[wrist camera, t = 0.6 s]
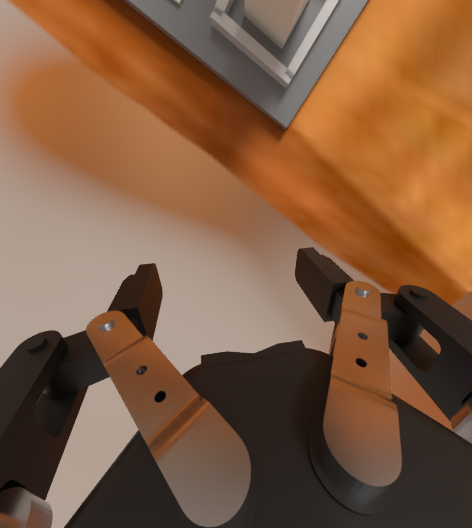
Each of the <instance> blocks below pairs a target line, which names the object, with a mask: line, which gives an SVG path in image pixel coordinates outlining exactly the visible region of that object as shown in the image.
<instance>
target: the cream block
mask: <svg viewBox="0 0 472 528" xmlns="http://www.w3.org/2000/svg"><path fill="white" fill-rule="evenodd" d="M308 2H309V0H245V4H244V16H245V17H246V18H247V19H248V20H250V21H251V22H252V23H253V24H254V25H255V26H256V27H257V28H258V29H260V30H261V31H262V32H263V33H264V34H265V35H266V36H267V37H268V38H270V39H271V40H272V41H273V42H274V43H275V44H276V45H277V46H278V47H280V48H281V49H282V48H283V47H284V45H285V43H286V41H287V39H288V38H289V36H290V34H291V32H292V30H293V29H294V27H295V25H296V23H297V21H298V20H299V18H300V16H301V14H302V12H303V11H304V9H305V7H306V5H307V3H308Z"/></svg>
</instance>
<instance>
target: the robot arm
mask: <svg viewBox="0 0 472 528" xmlns="http://www.w3.org/2000/svg"><path fill="white" fill-rule="evenodd" d="M295 277H296V281H297V282H298V284H299V285H300V287H301V288H302V290H303V291H304V293H305V294H306V296H307V297H308V299H309V300H310V302H311V303H312V305H313V306H314V307H315V309H316V311H317V312H318V313H319V315H320V316H321V318H322V319H323V321H324V322H327V321H334V322H335V326H334V329H333V335H332V339H331V344H330V349H329V354H326V353H324V352H321V351H318V350H314V349H309V348H305V346H304V344H303V342H302V340H300V341H293V342H286V343H279V344H276V345H274V346H271V347H269V348H266V349H264V350H262V351H259V352H257V353H240V352H220V353H214V354H207V355H201V364H200V365H197V366H195V367H193V368H192V369H190V370H189V371H187V372H186V373H185V374H183V375H181V374H180V373H179V371H178V370H177V369H176V368H175V367H174V366H173V364H172V363H171V362H170V361H169V360H168V359H167V357H166V356H165V355H164V354H163V353H162V352H161V350H160V349H159V348H158V347H157V346H156V345H155V344H154V342H153V336H154V332H155V328H156V323H157V319H158V314H159V310H160V305H161V301H162V286H161V282H160V279H159V275H158V271H157V267H156V265H155V264H154V263H152V264H142V265H139V267H138V269H137V271H136V273H135V274H134V275H130V276H128V277H127V278H126V279H125V280H124V281H123V282H122V284H121V286H120V289H119V290H118V292H117V294H116V295H115V297H114V299H113V301H112V303H111V305H110V307H109V309H108V311H107V312H105V313H103V314H100V315H99V316H97V317H95V318H94V319H93V320H92V321H91V322H90V323H89V324H88V325H87V327H86V330H85V331H83V332H79V333H77V334H74V335H71V336H68V337H65V338H63V337H62V336H61V335H60V333H59V332H57V331H45V332H42V333H39V334H36V335H34V336H32V337H31V338H28V339H27V340H25V341H24V342H23V343H21V344H20V345H19V346H18V347H17V348H16V349H15V350H14V352H13V353H12V354H11V355H10V357H9V358H8V359H7V360H6V362H5V363H4V364H3V365H2V367H1V368H0V528H51V525H52V516H53V515H52V509H51V506H50V505H49V504H48V503H47V502H46V501H45V499H46V497H47V494H48V491H49V489H50V486H51V483H52V481H53V478H54V475H55V473H56V470H57V468H58V465H59V462H60V460H61V457H62V455H63V452H64V449H65V446H66V444H67V441H68V439H69V436H70V433H71V431H72V428H73V425H74V423H75V420H76V418H77V415H78V413H79V410H80V407H81V404H82V402H83V399H84V397H85V394H86V391H87V389H88V386H89V385H92V384H94V383H96V382H99V381H101V380H104V379H106V378H108V377H110V378H111V379H112V381H113V383H114V385H115V387H116V389H117V390H118V392H119V394H120V396H121V398H122V400H123V402H124V403H125V405H126V407H127V409H128V411H129V413H130V414H131V416H132V418H133V420H134V422H135V424H136V426H137V427H138V429H139V430H138V431H137V432H136V434H135V435H134V436H133V438H132V439H131V440H130V442H129V443H128V444H127V446H126V447H125V448H124V450H123V451H122V452H121V453H120V455H119V456H118V457H117V459H116V460H115V461H114V463H113V464H112V465H111V467H110V468H109V469H108V470H107V472H106V473H105V474H104V476H103V477H102V478H101V480H100V481H99V482H98V484H97V485H96V486H95V488H94V489H93V490H92V491H91V493H90V494H89V495H88V497H87V498H86V499H85V501H84V502H83V503H82V505H81V506H80V507H79V508H78V510H77V511H76V513H75V514H74V515H73V516H72V518H71V519H70V520H69V522H68V523H67V524H66V526H65V527H64V528H472V321H471V320H470V319H469V318H467V317H466V316H464V315H463V314H462V313H460V312H459V311H457V310H456V309H455V308H453V307H452V306H450V305H449V304H448V303H446V302H445V301H443V300H442V299H441V298H439V297H438V296H436V295H435V294H434V293H432V292H431V291H429V290H427V289H424V288H421V287H418V286H413V285H404V286H401V287H400V288H399V290H398V292H397V294H388V293H380V291H379V290H378V289H377V288H376V287H374V286H373V285H371V284H369V283H366V282H361V281H354V280H353V279H352V278H351V277H350V276H349V275H347V274H346V273H345V272H344V271H343V270H342V269H340V267H339V266H338V265H336V264H335V263H334V262H333V261H332V260H331V259H330V258H328V257H326V256H324V255H320V254H319V253H318V252H317V251H316V250H315V249H314V248H313V247H312V248H302V249H299V250H298V252H297V260H296V268H295ZM423 329H425V330H426V331H427V332H429V333H430V334H431V335H432V336H433V337H434V338H435V339H436V340H437V341H438V343H439V344H440V347H441V352H440V354H437V352H436V351H435V350H433V349H432V348H431V347H430V346H429V345H428V344H427V343H426V342H425V341H424V340H423V339H422V338H421V337H420V334H421V332H422V330H423ZM389 348H390V349H391V350H392V352H393V353H394V354H395V355H396V357H397V358H398V359H399V360H400V361H401V363H402V364H403V365H404V366H405V367H406V368H407V370H408V371H409V372H410V374H412V376H413V377H414V378H415V379H416V381H417V382H418V383H419V384H420V386H421V387H422V388H423V389H424V390H425V391H426V393H427V394H428V395H429V396H430V397H431V399H432V400H433V401H434V402H435V404H436V405H437V406H438V407H439V408H440V410H441V411H442V412H443V413H444V414H445V416H446V417H447V418H448V419H449V421H450V422H451V426H452V429H453V431H454V432H453V431H451V430H450V429H448V428H446V427H445V426H443V425H442V424H440V423H438V422H437V421H435V420H434V419H432V418H430V417H429V416H427V415H426V414H424V413H422V412H421V411H419V410H418V409H416V408H414V407H413V406H411V405H410V404H408V403H406V402H405V401H403V400H402V399H400V398H398V397H397V396H395V395H393V394H392V389H391V373H390V358H389ZM40 396H41V397H40ZM39 398H40V399H39ZM38 400H39V401H38Z"/></svg>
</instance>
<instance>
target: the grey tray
mask: <svg viewBox="0 0 472 528" xmlns="http://www.w3.org/2000/svg"><path fill="white" fill-rule="evenodd" d="M123 1H124V2H125V3H127V4H128V5H129V6H130V7H132V8H133V9H134V10H135V11H137V12H138V13H139V14H140V15H142V16H143V17H144V18H145V19H147V20H148V21H149V22H150V23H152V24H153V25H154V26H155V27H157V28H158V29H159V30H160V31H162V32H163V33H164V34H165V35H167V36H168V37H169V38H170V39H172V40H173V41H174V42H175V43H177V44H178V45H179V46H180V47H182V48H183V49H184V50H185V51H187V52H188V53H189V54H190V55H192V56H193V57H194V58H195V59H197V60H198V61H199V62H200V63H202V64H203V65H204V66H205V67H207V68H208V69H209V70H210V71H212V72H213V73H214V74H215V75H217V76H218V77H219V78H220V79H222V80H223V81H224V82H225V83H227V84H228V85H229V86H230V87H232V88H233V89H234V90H235V91H236V92H238V93H239V94H240V95H241V96H243V97H244V98H245V99H246V100H248V101H249V102H250V103H251V104H253V105H254V106H255V107H256V108H258V109H259V110H260V111H261V112H263V113H264V114H265V115H266V116H268V117H269V118H270V119H271V120H273V121H274V122H275V123H276V124H278V125H279V126H280V127H281V128H283V129H284V130H285V129H286V128H287V127H288V125H289V123H290V122H291V120H292V119H293V117H294V116H295V114H296V112H297V111H298V109H299V108H300V106H301V105H302V103H303V101H304V100H305V98H306V97H307V95H308V94H309V92H310V90H311V89H312V87H313V86H314V84H315V83H316V81H317V79H318V78H319V76H320V75H321V73H322V72H323V70H324V68H325V67H326V65H327V64H328V62H329V61H330V59H331V57H332V56H333V54H334V53H335V51H336V50H337V48H338V46H339V45H340V43H341V42H342V40H343V39H344V37H345V35H346V34H347V32H348V31H349V29H350V28H351V26H352V24H353V23H354V21H355V20H356V18H357V17H358V15H359V13H360V12H361V10H362V9H363V7H364V5H365V4H366V2H367V1H368V0H309V2H308V3H307V5H306V7H305V9H304V11H303V12H302V14H301V16H300V18H299V20H298V21H297V23H296V25H295V27H294V29H293V30H292V32H291V34H290V36H289V38H288V39H287V41H286V43H285V45H284V47H283V48H282V49H281V48H280V47H278V46H277V45H276V44H275V43H274V42H273V41H272V40H271V39H270V38H268V37H267V36H266V35H265V34H264V33H263V32H262V31H261V30H260V29H258V28H257V27H256V26H255V25H254V24H253V23H252V22H251V21H250V20H248V19H247V18H246V17H245V16H244V4H245V0H123Z"/></svg>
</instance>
